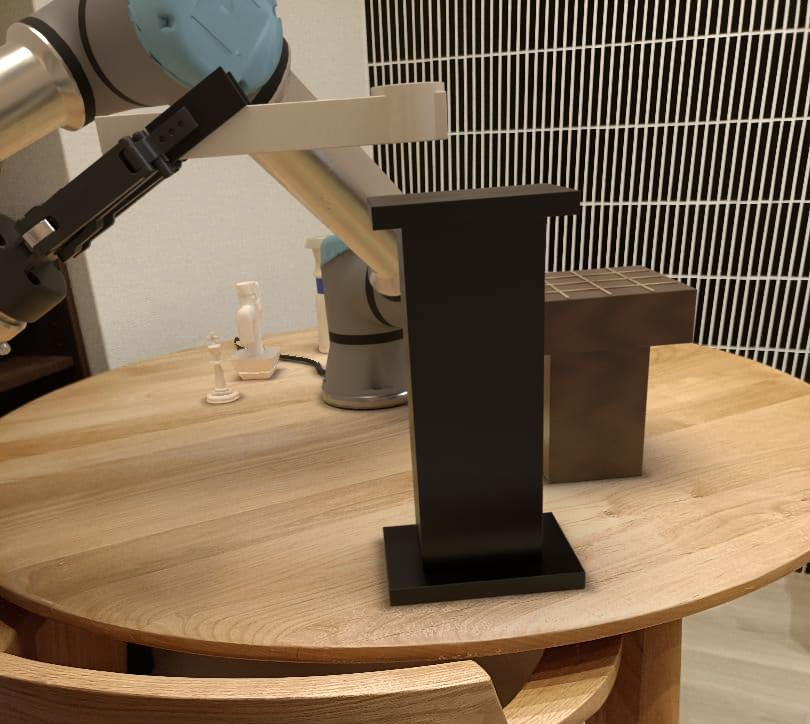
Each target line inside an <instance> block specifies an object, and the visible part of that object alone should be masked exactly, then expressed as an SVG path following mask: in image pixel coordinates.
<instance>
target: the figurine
mask: <svg viewBox="0 0 810 724" xmlns="http://www.w3.org/2000/svg"><path fill="white" fill-rule="evenodd" d="M235 288H236V292H237V296H238V300H239V301H238V302H239V306H240V307H239V309H238V310H237V312H236V317H235V318H236V325H237V326H236V327H237V332H238V333H237V334H238V338H239V339H240V343H241V344H242V345H245V347H246V348H247V349H239V350H237V352H235V353H234V354H233V355H232V356H231V357H230V358H229V359H228V362H229V363H230V364H231V366H232V367H233V368H234V370H235V372H237V373H238V372H261V371H264V372H265V371H271V370H272V369H273V368H274V366H275V365H276V364H277V365H276V366H275V368H274V369H273V370H272V371H271V372H270V373H259V374H238V375H239V377H240V378H241V379H242V380H245V381H247V380H267V379H270V378H271V377H272V376H273V375H274V374H275V372H276V369H277V366H278V363H279V359H280V358H279V356H280V354H282V349H283V346H276V347H264V342H263V335H262V329H261V322H260V320H261V319H260V316H261V315H262V313H263V309H264V308H263V298H262V292H261V286H260V283H259V281H255V280H251V281H242V282H237V283H235Z"/></svg>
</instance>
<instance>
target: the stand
mask: <svg viewBox="0 0 810 724" xmlns="http://www.w3.org/2000/svg"><path fill="white" fill-rule="evenodd" d="M581 193H582V191H581V190H580V189H575V188H571V187H567V186H561V185H557V184H552V183H548V182H544V183H542V182H541V183H530V184H519V185H517V184H516V185H506V186H503V185H502V186H492V187H491V186H490V187H479V188H467V189H466V188H465V189H451V190H440V191H439V190H438V191H426V192H412V193H403V194H398V195H385V196H372V197H367V205H368V217H369V220H370V223H371V226H372V229H373V231H375V230H388V229H396V235H397V250H398V265H399V280H400V295H401V310H402V324H403V339H404V354H405V369H406V384H407V399H408V403H407V411H408V412H407V413H408V425H409V426H408V429H409V442H410V456H411V457H410V458H411V470H412V472H411V474H412V487H413V501H414V502H413V503H414V517H415V523H413V524H411V523H410V524H401V525H390V526H389V525H388V526H382V535H383V536H382V539H383V547H384V557H385V567H386V577H387V587H388V596H389V597H388V598H389V605H390V606H392V607H393V606H402V605H414V604H424V603H425V604H427V603H437V602H446V601H456V600H457V601H458V600H468V599H469V600H470V599H479V598H490V597H500V596H502V597H503V596H511V595H522V594H533V593H543V592H544V593H545V592H554V591H564V590H565V591H566V590H575V589H585V588H586V575H587V574H586V570H585V568H584V567H583V565H582V564H581V561H580V560H579V557H578V556H577V554H576V552H575V551H574V549H573V547H572V545H571V543H570V541H569V540H568V538H567V537H566V534H565V533H564V531H563V529H562V527H561V526H560V524H559V522H558V520H557V518H556V517H555V515H554V513H553V512H552V511H547V512H546V511H545V512H544V474H543V442H544V336H545V273H546V227H547V226H546V223H547V221H546V220H547V218H554V217H567V216H579V215H581V197H582V196H581V195H582V194H581Z"/></svg>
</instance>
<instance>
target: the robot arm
mask: <svg viewBox="0 0 810 724" xmlns="http://www.w3.org/2000/svg"><path fill="white" fill-rule="evenodd" d="M277 6H278V2H277V0H51V1H49V2H48V3H47V4H45V5H44V6H42V7H41V8H39V9H37V10H36V11H34V12H32V13H31V14H29V15H28V16H26V17H24V18H22V19H20V20H19V21H16V22H14V23H12V24H11V25H10V26H9V27H8V28H7V31H6V36H5V43H4V44H2V45H0V163H1V162H2V161H5V160H6V159H7V158H9V157H11V156H12V155H14V154H16V153H18V152H19V151H22V150H23V149H24V148H27V147H28V146H30V145H31V144H33V143H35V142H36V141H38V140H40V139H42V138H43V137H46V136H47V135H48V134H50V133H52V132H53V131H56V130H57V129H58V128H60V129H63V130H66V131H67V132H77V131H79V130H81V129H83V128H84V127H86V126H88V125H90V124H91V123H93V122H95V117H96V116H110V115H116V114H119V113H122V112H127V111H131V110H137V109H145V108H155V107H161V106H162V107H163V106H169V107H168V108H166V109H165V110H164V111H162V112H163V113H161V114H160V115H159V116H158V117H157V118H155V119H154V120H153V121H152V122H150V123H149V124H148V125H147V126H146V127H145V128H146V130H147V131H148V133H149V135H147V134H146V132H145V131H144V130H142V131H140V132H138V131H137V132H135V133H134V134H133V135H132V138H131V137H130V136H126V137H123V138H121V139H120V140H119V141H118V144H116V145H115V146H114V147H113V148H112V149H110V150H109V151H108V152H107V153H105V154H104V155H103V156H102V155H101V156H100V157H99V158H97V159H96V160H95V161H94V162H93V163H92V164H90V165H89V166H88V167H87V168H85V169H84V170H83V171H82V172H81V173H79V174H78V175H76V176H75V177H74V178H72V180H70V181H69V182H68V183H67V184H65V185H64V186H63V187H62V188H59V189H58V190H57V191H56V192H55V193H53V194H52V196H50V197H49V198H47V200H46V201H44V202H41V203H38V204H36V205H34V206H32V207H31V208H30V209H29V210H28V211H27V212H26V213H24V214H23V217H20V218H18V219H16V220H15V219H14V218H12V217H10V216H9V215H6V214H4V213H1V212H0V355H1V356H5V355H8V354H9V353H11V350H12V348H11V346H10V345H9V343H8V341H11V340H12V339H13V338H14V337H16V336H18V334H20V333H22V331H23V330H25V329H26V327H27V323H29V324H30V323H31V324H32V323H35V322H36V321H38V320H40V318H42V317H44V315H46V314H47V313H48V312H49V311H51V310H52V309H53V308H55V307H56V306H57V305H58V304H60V303H61V302H62V301H63V300H64V299H65V298H66V297H67V291H68V289H67V288H68V287H67V283H66V282H67V281H66V279H65V277H64V275H63V272H62V271H60V268H59V265H58V260H57V259H58V258H59V260H60V261H61V262H62V263H63V264H66V263H67V262H68V261H70V260H71V259H76V258H78V257H79V256H81V255H82V254H84V252H86V251H87V250H89V249H90V248H91V246H92V242H93V241H94V240H95V239H97V238H98V237H99V236H101V235H103V233H105V232H106V231H108V230H109V229H110V228H112V227H113V226H114V225H115V223H116V219H118V218H119V217H120V216H121V215H123V214H124V213H125V212H126V211H127V210H129V209H130V208H131V207H133V205H135V204H136V203H137V202H139V201H140V200H141V199H143V198H144V197H145V196H147V194H148V193H150V192H152V190H153V189H155V188H156V187H157V186H159V185H160V184H161V183H162V182H164V181H165V180H166V179H169V178H171V177H173V176H174V175H175V174H176V173H178V172H179V171H180V170H181V169H182V166H183V163H184V162H187V161H188V160H189V159H180V158H181V157H182V156H183V155H185V154H186V153H187V152H188V151H190V150H191V149H192V148H193V147H195V146H196V145H197V144H199V143H200V142H201V141H202V140H204V139H205V138H206V137H207V136H209V135H210V134H211V133H212V132H214V131H215V130H216V129H217V128H219V127H220V126H221V125H222V124H224V123H225V122H226V121H227V120H229V119H230V118H231V117H233V116H234V115H235V114H236V113H238V112H239V111H240V110H241V109H243V108H244V107H245V106H246V105H260V104H274V103H287V102H301V101H315V100H318V98H317V97H316V96H315V95H314V93H312V92H311V91H310V90H309V88H308V87H307V86H306V85H305V83H303V82H302V81H301V79H299V77H298V76H297V75H296V74H295V73H294V72H293V71H292V70H291V65H292V51H291V46H290V44H289V43H290V42H288V41H287V39H286V38H285V37H284V29H283V22H282V17H278V15H277V12H276V10H277V9H276V8H277ZM367 153H368V152H366V151H365V150H364V149H363V148H362V146H354V147H340V148H327V149H314V150H300V151H287V152H274V153H260V154H247V155H248V156H249V157H250V158H251V159H252V160H254V161H255V163H257V164H258V165H259V166H260V167H261V168H262V169H263V170H264V171H265V172H266V173H267V174H269V176H270V177H271V178H273V179H274V180H275V181H276V182H277V183H278V184H279V185H280V186H282V187H283V188H284V189H285V190H286V191H287V192H288V193H289V194H290V195H291V196H292V197H293V198H294V199H295V200H296V201H297V202H299V203H300V204H301V205H302V206H303V207H304V208H305V209H306V210H307V211H309V213H311V214H312V215H313V216H314V218H316V219H317V220H318V221H319V222H320V223H321V224H322V225H324V226H325V227H326V228H327V229H328V230H329V231H330V232H331V234H334V235H329V236H327V237H325V238H324V239H323V241H322V243H321V246H320V251H321V265H320V269H321V274H322V283H323V291H324V299H325V307H326V315H327V324H328V331H329V341H330V348H329V353H327V358H326V365H325V369H324V368H323V367H322V363H320V362H319V361H318V363H317V362H316V361H314V360H311V359H308V358H309V357H308V358H303V357H304V356H302V357H296V356H297V355H295V356H289V355H290V354H288V355H281V354H282V353H280V356H279V359H281V360H288V361H295V362H302V363H307V364H311V365H313V366H315V368H316V371H317V372H318V374H320V375H322V376H324V377H323V379H322V382H321V383H322V384H321V392H322V399H323V401H324V402H325V403H326V404H329V405H330V406H334V407H337V408H342V409H352V410H353V409H354V410H371V409H373V410H374V409H383V408H384V409H385V408H391V407H395V406H400V405H404V404H408V399H407V384H406V369H405V354H404V339H403V324H402V310H401V295H400V280H399V265H398V250H397V235H396V229H388V230H375V231H373V229H372V226H371V223H370V220H369V217H368V205H367V197H372V196H385V195H398V194H404V193H403V192H402V190H400V189H399V187H398V186H397V185H396V184H395V183H394V182H393V181H392V180H391V179H390V178H389V176H388V175H387V174H386V173H385V171H383V170H382V169H381V167H380V166H379V165H378V164H377V163H376V162H375V161H374V160H373V159H372V158H371V157H370V155H369V154H367ZM164 155H165V156H166V157H167V158H168V160H167V161H166V160H165V158H164V157H163V156H164ZM178 159H180V160H178ZM236 341H240V339H239V336H235V337H234V340H233V344H234V343H236ZM235 345H236V348H237V349H239V350H240V349H245V348H243V347H241V346H239V345H237V344H235Z"/></svg>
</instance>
